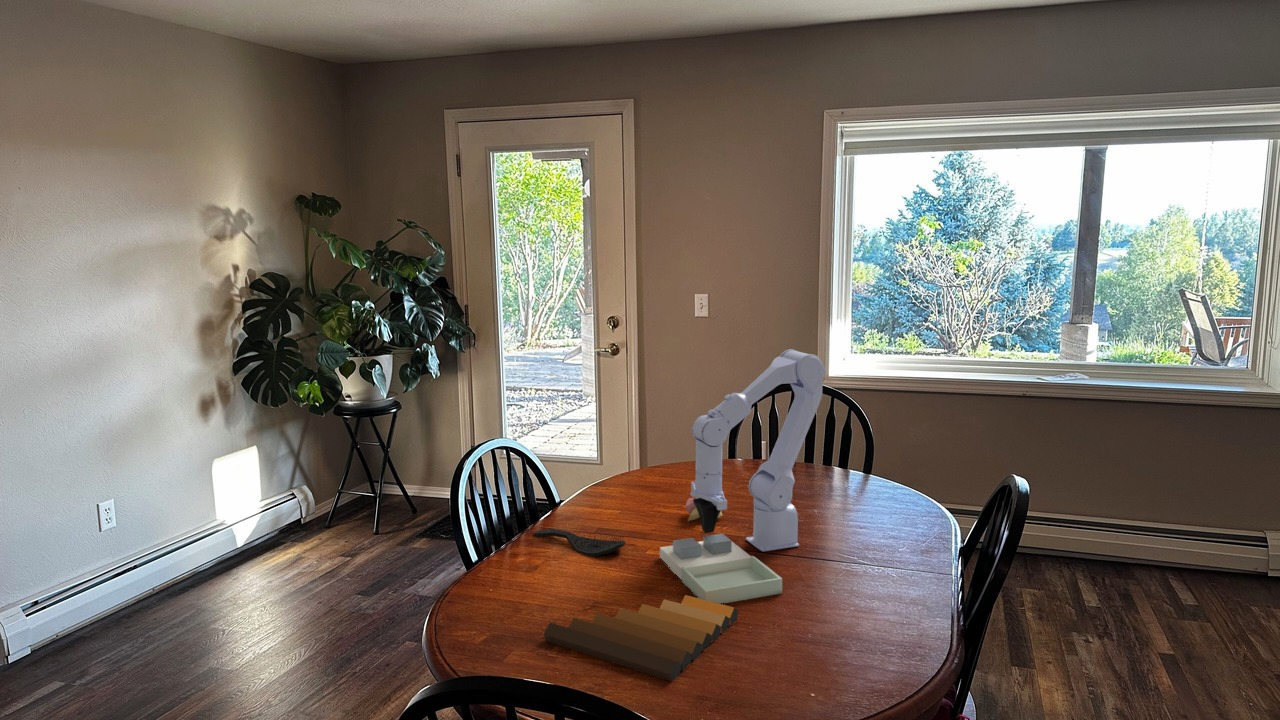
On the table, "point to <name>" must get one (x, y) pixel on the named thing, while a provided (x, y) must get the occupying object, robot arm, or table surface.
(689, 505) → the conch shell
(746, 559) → the board
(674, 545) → the tile outer
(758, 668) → the table surface
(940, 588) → the table surface
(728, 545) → the squat square grey block
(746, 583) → the box
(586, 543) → the hairbrush
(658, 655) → the pan flute
